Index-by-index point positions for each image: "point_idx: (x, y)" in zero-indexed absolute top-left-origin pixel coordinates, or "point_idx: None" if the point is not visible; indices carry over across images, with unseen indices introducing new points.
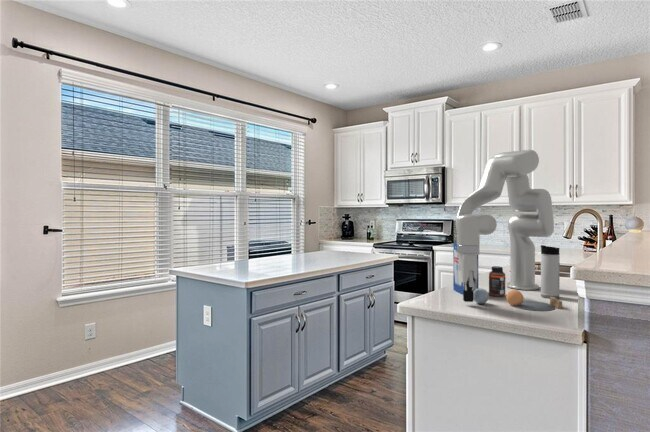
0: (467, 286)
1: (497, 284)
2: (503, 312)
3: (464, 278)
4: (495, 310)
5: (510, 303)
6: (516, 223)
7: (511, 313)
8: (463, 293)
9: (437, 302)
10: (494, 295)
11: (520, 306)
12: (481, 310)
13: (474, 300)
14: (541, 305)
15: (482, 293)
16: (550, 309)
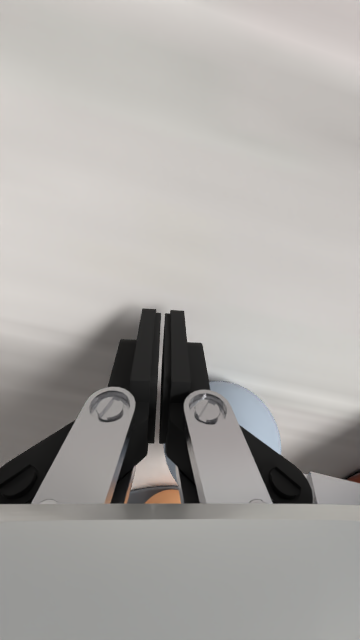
0: (19, 469)
1: None
2: (19, 439)
3: None
4: (52, 421)
5: (158, 494)
6: None
7: (11, 459)
8: (170, 349)
9: (305, 7)
10: (353, 478)
11: (142, 503)
12: (27, 362)
13: (212, 382)
14: None
15: (172, 470)
16: None
